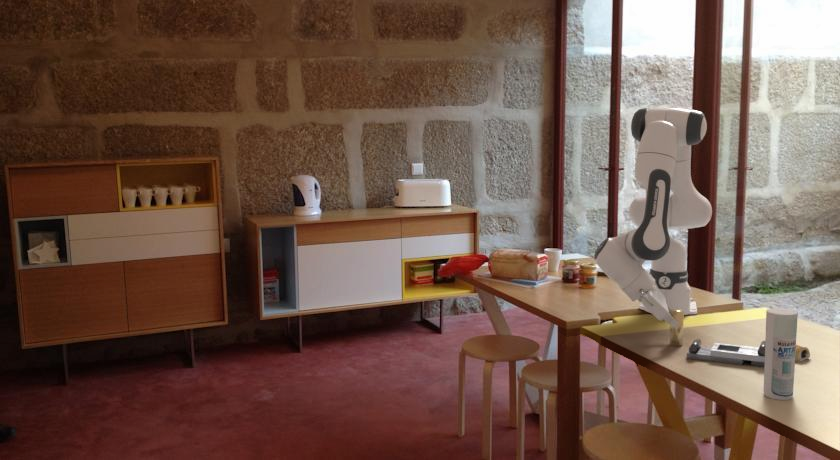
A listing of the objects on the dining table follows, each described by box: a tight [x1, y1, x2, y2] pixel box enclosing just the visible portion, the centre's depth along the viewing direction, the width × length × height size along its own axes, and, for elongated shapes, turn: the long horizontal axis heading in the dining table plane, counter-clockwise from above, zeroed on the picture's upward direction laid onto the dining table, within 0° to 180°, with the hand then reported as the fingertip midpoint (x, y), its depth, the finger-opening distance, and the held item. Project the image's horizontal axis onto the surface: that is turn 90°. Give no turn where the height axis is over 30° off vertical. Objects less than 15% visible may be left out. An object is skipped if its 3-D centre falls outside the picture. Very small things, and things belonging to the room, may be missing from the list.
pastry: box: [795, 344, 811, 363], centre depth 210 cm, size 9×7×4 cm
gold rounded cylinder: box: [669, 309, 685, 347], centre depth 223 cm, size 4×4×10 cm
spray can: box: [763, 307, 799, 401], centre depth 180 cm, size 6×6×20 cm
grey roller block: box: [686, 338, 765, 368], centre depth 209 cm, size 20×8×5 cm, turn 61°
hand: (674, 321), depth 222 cm, fingers open, 8 cm apart
